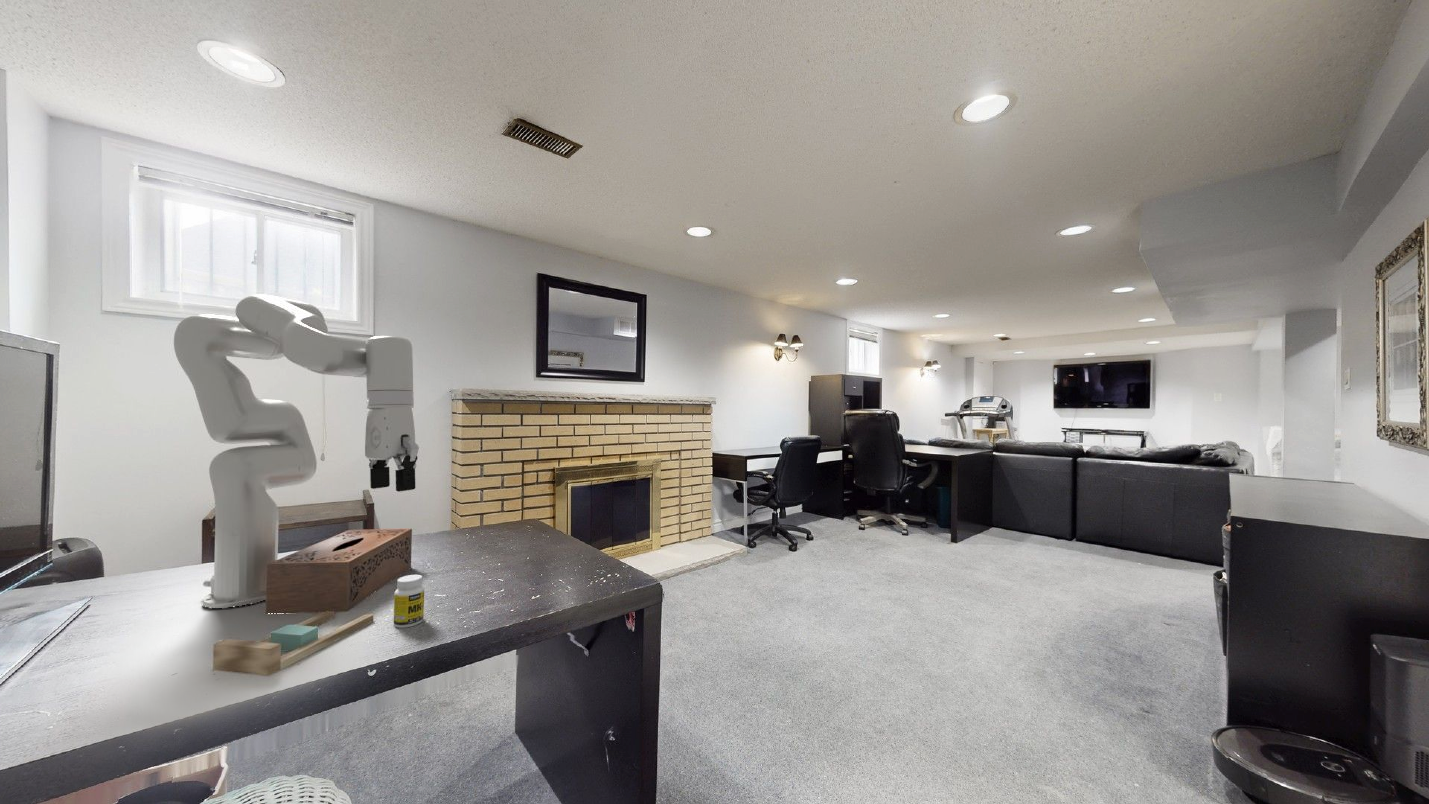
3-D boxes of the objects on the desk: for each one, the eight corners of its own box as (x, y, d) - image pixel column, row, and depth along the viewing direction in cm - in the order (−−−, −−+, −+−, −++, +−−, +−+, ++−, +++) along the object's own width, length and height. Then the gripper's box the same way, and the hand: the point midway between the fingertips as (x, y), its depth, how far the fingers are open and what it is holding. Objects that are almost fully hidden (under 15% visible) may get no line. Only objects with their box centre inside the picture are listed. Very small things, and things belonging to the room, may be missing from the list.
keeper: (270, 649, 80) (270, 632, 80) (288, 640, 83) (288, 624, 83) (300, 652, 79) (301, 635, 79) (318, 643, 82) (318, 627, 82)
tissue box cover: (347, 570, 118) (348, 529, 118) (411, 568, 120) (411, 528, 120) (265, 616, 93) (266, 564, 93) (347, 612, 95) (348, 561, 95)
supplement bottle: (409, 630, 87) (409, 583, 87) (387, 627, 88) (388, 581, 88) (429, 618, 92) (430, 574, 92) (408, 616, 93) (409, 572, 93)
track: (212, 669, 73) (213, 643, 73) (326, 617, 92) (327, 596, 92) (269, 675, 72) (270, 649, 72) (373, 621, 90) (373, 599, 90)
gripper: (347, 402, 94) (349, 489, 94) (392, 398, 85) (394, 494, 85) (389, 402, 101) (391, 484, 100) (434, 398, 92) (437, 488, 91)
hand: (392, 489), depth 93 cm, fingers open, 9 cm apart
